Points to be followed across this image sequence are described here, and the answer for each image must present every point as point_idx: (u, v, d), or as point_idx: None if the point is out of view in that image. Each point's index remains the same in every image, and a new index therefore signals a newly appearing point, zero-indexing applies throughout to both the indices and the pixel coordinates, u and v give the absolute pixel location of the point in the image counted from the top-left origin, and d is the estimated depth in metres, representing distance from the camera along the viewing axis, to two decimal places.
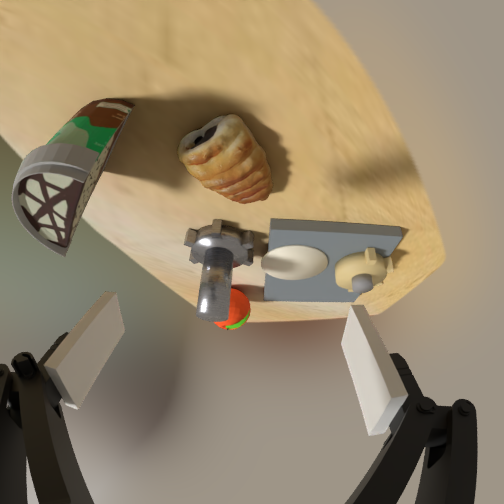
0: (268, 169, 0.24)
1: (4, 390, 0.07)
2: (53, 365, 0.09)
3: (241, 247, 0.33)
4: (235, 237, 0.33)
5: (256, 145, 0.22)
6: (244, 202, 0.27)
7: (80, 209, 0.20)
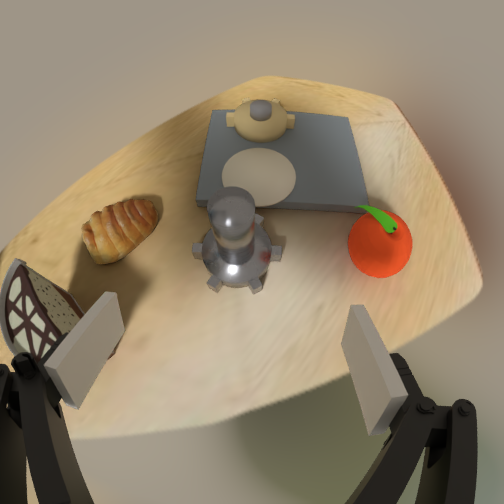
0: None
1: (4, 390, 0.07)
2: (53, 365, 0.09)
3: None
4: None
5: None
6: (148, 214, 0.30)
7: (65, 327, 0.20)
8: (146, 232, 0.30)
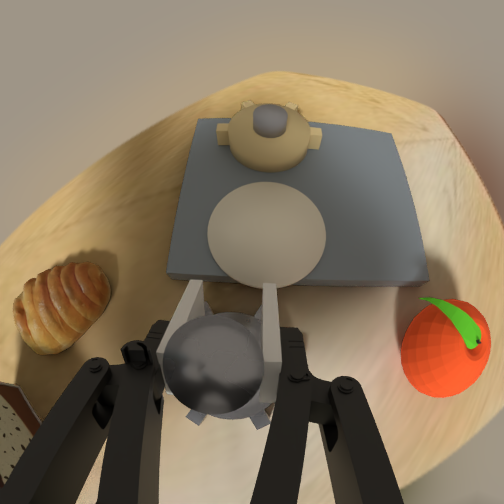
0: None
1: (96, 389, 0.08)
2: None
3: None
4: None
5: None
6: (93, 290, 0.18)
7: (6, 460, 0.08)
8: (94, 315, 0.19)
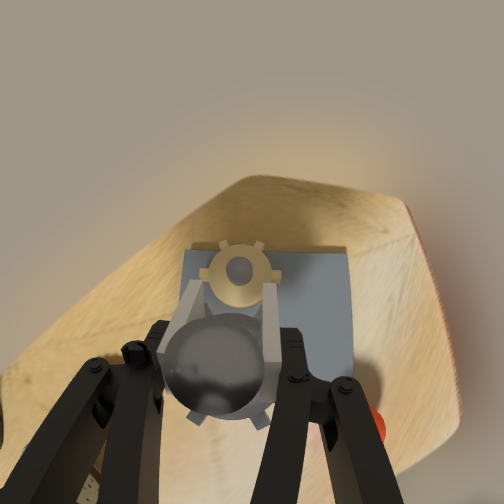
0: None
1: (96, 389, 0.08)
2: None
3: None
4: None
5: None
6: None
7: (83, 496, 0.17)
8: None
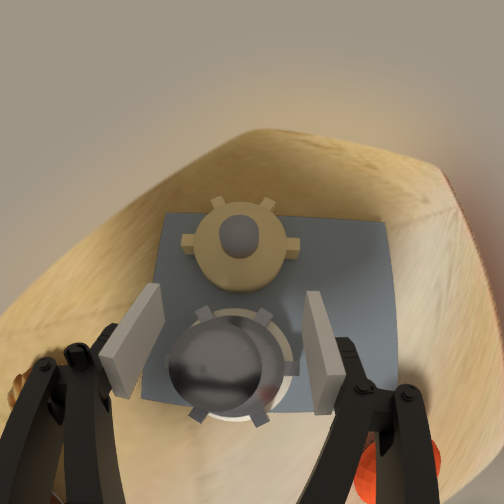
0: None
1: (47, 386, 0.08)
2: (108, 354, 0.10)
3: None
4: None
5: None
6: None
7: None
8: None
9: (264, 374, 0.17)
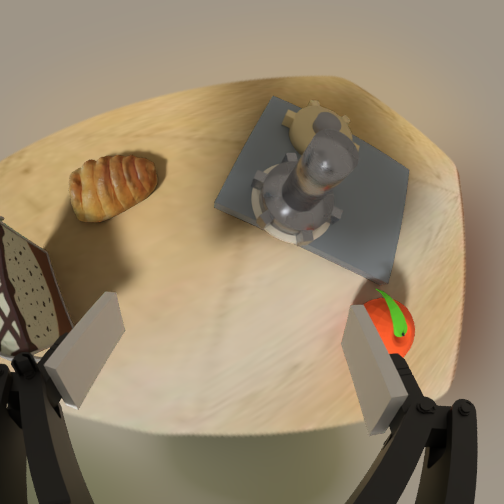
0: None
1: (4, 390, 0.07)
2: (53, 365, 0.09)
3: (291, 163, 0.26)
4: None
5: None
6: (147, 179, 0.26)
7: (31, 311, 0.17)
8: (140, 198, 0.26)
9: (319, 207, 0.26)
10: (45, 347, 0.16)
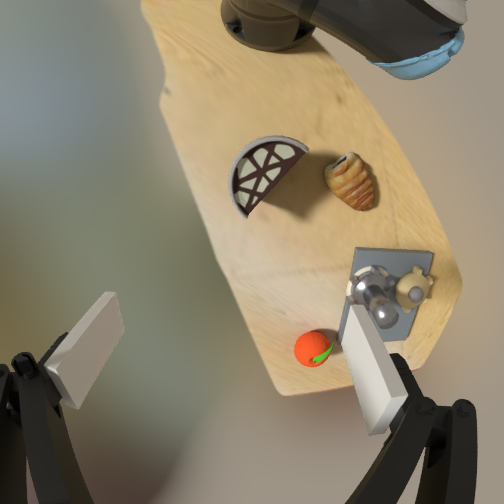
0: None
1: (4, 390, 0.07)
2: (53, 365, 0.09)
3: (388, 284, 0.45)
4: (384, 277, 0.45)
5: (364, 167, 0.40)
6: (361, 208, 0.42)
7: None
8: (349, 205, 0.43)
9: None
10: None
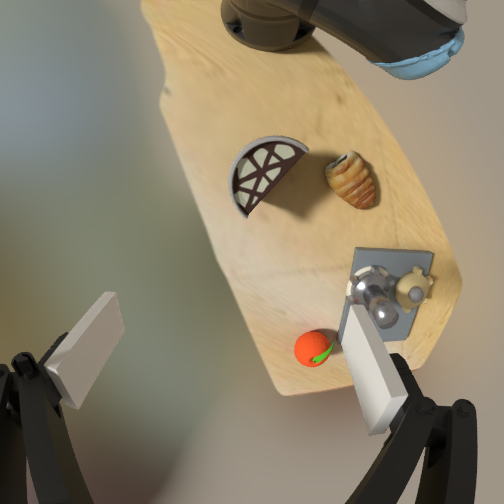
0: None
1: (4, 390, 0.07)
2: (53, 365, 0.09)
3: (388, 284, 0.45)
4: (384, 277, 0.45)
5: None
6: (363, 206, 0.42)
7: None
8: (351, 204, 0.43)
9: None
10: None
